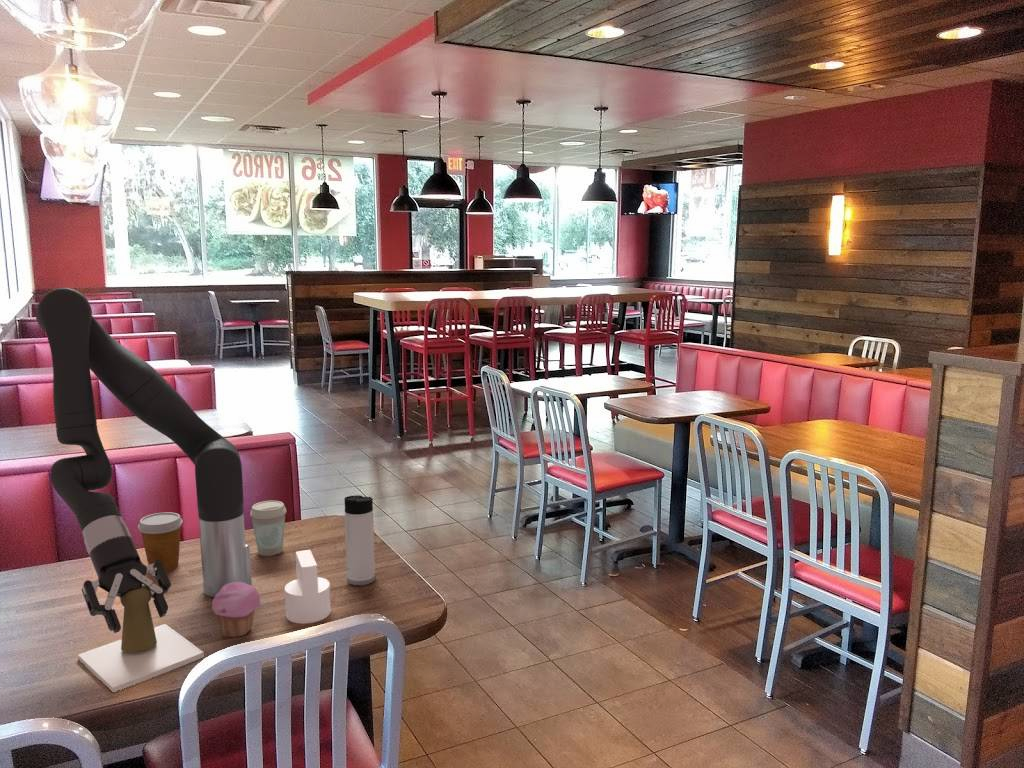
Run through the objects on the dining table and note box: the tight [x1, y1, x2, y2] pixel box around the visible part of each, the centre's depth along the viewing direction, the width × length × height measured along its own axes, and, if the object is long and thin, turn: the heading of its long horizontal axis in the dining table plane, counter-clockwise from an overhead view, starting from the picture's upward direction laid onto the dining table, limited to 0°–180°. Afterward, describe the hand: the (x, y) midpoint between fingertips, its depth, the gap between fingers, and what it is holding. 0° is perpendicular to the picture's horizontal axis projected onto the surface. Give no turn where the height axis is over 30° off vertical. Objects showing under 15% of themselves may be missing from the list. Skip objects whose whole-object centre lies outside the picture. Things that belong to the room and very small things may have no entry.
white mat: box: [77, 623, 205, 693], centre depth 143 cm, size 16×16×1 cm
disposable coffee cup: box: [137, 511, 184, 572], centre depth 183 cm, size 10×10×12 cm
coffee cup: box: [249, 500, 287, 557], centre depth 192 cm, size 9×8×12 cm
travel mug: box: [343, 495, 376, 586], centre depth 175 cm, size 6×7×20 cm
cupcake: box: [211, 582, 261, 638], centre depth 152 cm, size 9×9×10 cm
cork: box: [119, 586, 157, 652], centre depth 145 cm, size 6×6×11 cm
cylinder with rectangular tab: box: [284, 549, 332, 624], centre depth 160 cm, size 9×9×12 cm
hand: (141, 622), depth 141 cm, fingers open, 7 cm apart
